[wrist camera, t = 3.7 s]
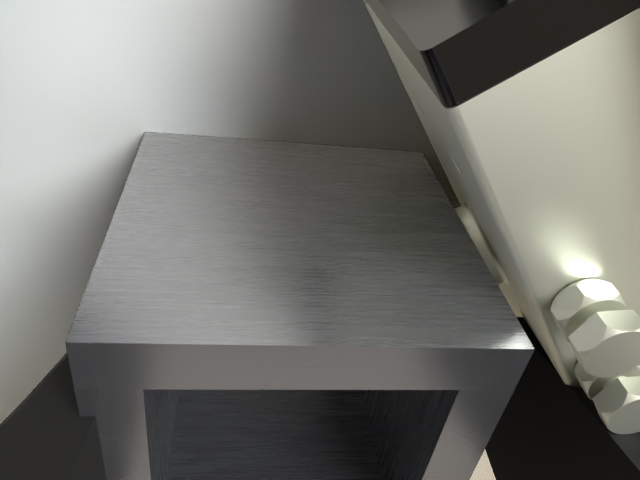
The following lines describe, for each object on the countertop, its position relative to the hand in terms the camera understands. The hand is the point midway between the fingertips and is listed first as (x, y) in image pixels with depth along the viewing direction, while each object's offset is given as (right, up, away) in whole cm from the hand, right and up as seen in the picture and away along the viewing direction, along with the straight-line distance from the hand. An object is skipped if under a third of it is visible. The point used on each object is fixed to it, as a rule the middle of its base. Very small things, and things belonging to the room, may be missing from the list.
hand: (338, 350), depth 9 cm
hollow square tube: (-1, +2, +2) cm, 3 cm away
